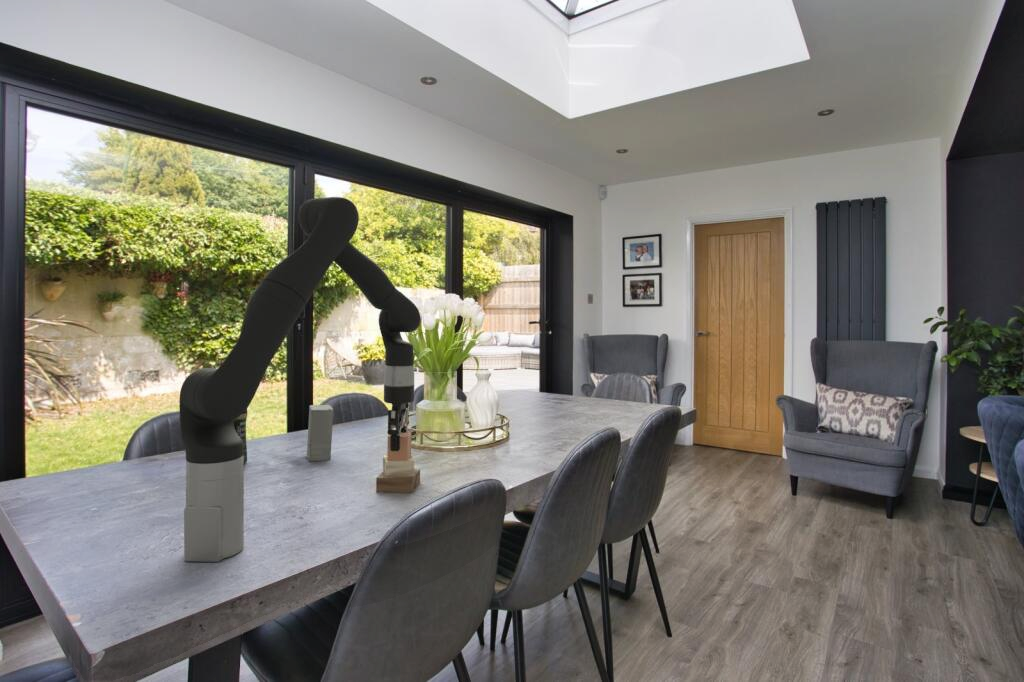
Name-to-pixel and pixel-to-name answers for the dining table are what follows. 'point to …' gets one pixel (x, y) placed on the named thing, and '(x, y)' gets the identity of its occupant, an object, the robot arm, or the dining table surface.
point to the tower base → (398, 483)
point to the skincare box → (319, 432)
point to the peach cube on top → (401, 448)
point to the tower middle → (398, 467)
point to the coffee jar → (242, 430)
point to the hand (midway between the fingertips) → (398, 447)
